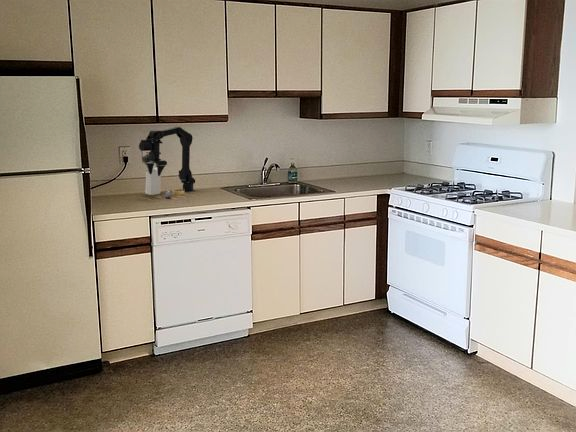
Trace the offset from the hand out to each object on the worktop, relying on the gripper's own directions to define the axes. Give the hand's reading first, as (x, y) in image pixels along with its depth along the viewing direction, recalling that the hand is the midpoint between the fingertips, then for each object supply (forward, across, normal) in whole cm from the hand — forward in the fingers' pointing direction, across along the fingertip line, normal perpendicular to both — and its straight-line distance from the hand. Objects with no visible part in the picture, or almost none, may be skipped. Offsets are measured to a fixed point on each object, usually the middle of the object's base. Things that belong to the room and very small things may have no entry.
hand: (154, 175), depth 370 cm
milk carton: (+14, -9, +5) cm, 17 cm away
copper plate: (+14, +10, +9) cm, 19 cm away
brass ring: (+13, +7, +14) cm, 20 cm away
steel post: (+14, +13, +2) cm, 20 cm away
